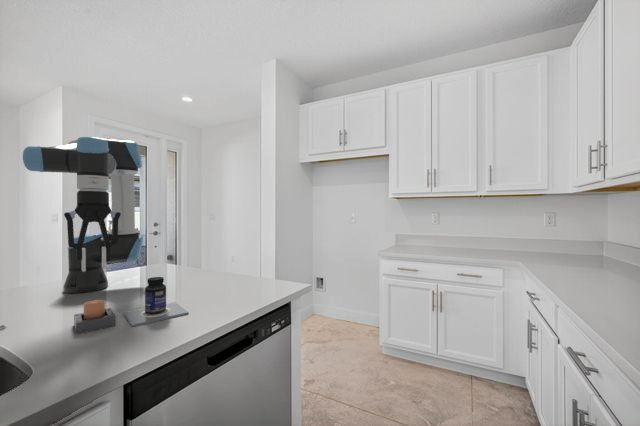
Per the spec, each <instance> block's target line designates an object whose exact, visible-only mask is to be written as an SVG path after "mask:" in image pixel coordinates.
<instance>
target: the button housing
mask: <svg viewBox="0 0 640 426" xmlns="http://www.w3.org/2000/svg"><path fill="white" fill-rule="evenodd" d="M73 326H75V327H74V331H75V334H76V335H78V334H77V333H79V334H83V333H87V332H86V331H88V332H92V331H91V330H93V331H96V329H97V330H101V329H100V328H102V329H106V328H110V327H114V326H116V315H115V313H114V311H113V310H112V308H111V307H107V308H105V316H102V317H97V318H92V319H87V320H84V312H81V313H75V314H74V315H73ZM82 332H83V333H82Z"/></svg>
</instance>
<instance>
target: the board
mask: <svg viewBox="0 0 640 426" xmlns="http://www.w3.org/2000/svg"><path fill="white" fill-rule="evenodd" d="M122 315H123V316H124V318H125V319H126V321H127V322H128V323H129V325H130V326H131V327H137V326H143V325H146V324H151V323H155V322H159V321H163V320H169V319H172V318H177V317H182V316H185V315H189V311H188V310H186V309H185V308H184V307H182V306H181V305H180V304H179V303H177V302H175V301H174V302H170V303H169V302H168V303H166V310H165V311H164V312H162V313H159V314H146V313H145V307H143V308H139V309H134V310H129V311H124V312H122Z"/></svg>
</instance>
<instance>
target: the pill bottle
mask: <svg viewBox="0 0 640 426" xmlns="http://www.w3.org/2000/svg"><path fill="white" fill-rule="evenodd" d="M164 281H165V277H163V276H153V277H149V278H147V286H145V288H144V308H145V313H146V314H159V313H162V312H164V311H165V310H166V304H167V286H166V284H164Z"/></svg>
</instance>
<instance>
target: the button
mask: <svg viewBox="0 0 640 426" xmlns="http://www.w3.org/2000/svg"><path fill="white" fill-rule="evenodd" d="M105 303H106V300H104V299H95V300H90V301H86V302H84V303H83V313H84V320H87V319H92V318H97V317H102V316H105V309H106V305H105Z"/></svg>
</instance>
